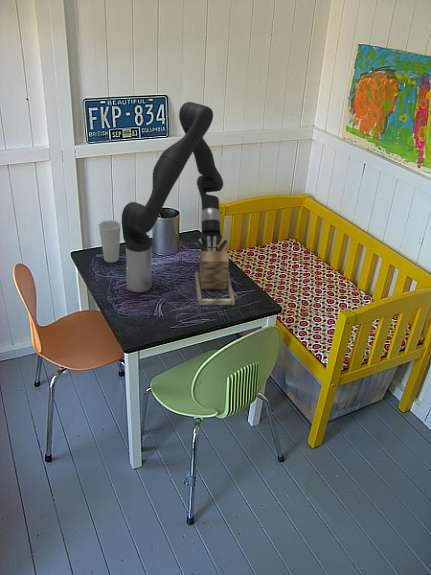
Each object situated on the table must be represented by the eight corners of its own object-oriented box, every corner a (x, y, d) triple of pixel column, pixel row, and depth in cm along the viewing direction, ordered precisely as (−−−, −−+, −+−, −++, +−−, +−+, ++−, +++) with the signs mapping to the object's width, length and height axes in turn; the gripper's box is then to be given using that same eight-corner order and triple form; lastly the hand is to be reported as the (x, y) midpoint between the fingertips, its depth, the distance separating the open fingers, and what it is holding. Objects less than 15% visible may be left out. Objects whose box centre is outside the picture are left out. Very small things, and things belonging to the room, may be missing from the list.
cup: (118, 253, 229) (117, 219, 220) (124, 262, 222) (123, 228, 214) (98, 256, 226) (96, 221, 217) (103, 265, 219) (101, 230, 211)
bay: (191, 308, 197) (191, 301, 195) (188, 278, 214) (188, 271, 213) (240, 307, 199) (241, 301, 197) (234, 278, 216) (234, 271, 215)
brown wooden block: (200, 289, 206) (201, 261, 199) (199, 278, 213) (200, 250, 206) (227, 289, 207) (229, 261, 200) (224, 278, 214) (226, 250, 207)
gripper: (194, 218, 213) (195, 261, 209) (228, 218, 214) (229, 261, 210) (193, 224, 220) (194, 266, 216) (226, 225, 221) (227, 266, 218)
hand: (211, 263), depth 213 cm, fingers closed
